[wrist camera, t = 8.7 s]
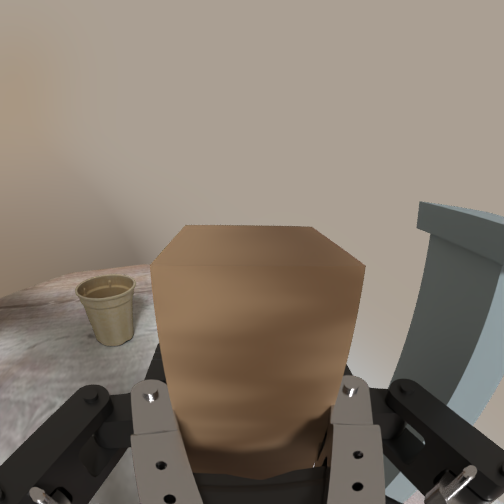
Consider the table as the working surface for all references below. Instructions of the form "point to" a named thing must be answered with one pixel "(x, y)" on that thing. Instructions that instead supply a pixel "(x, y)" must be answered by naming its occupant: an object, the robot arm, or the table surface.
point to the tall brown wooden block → (254, 342)
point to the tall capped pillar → (455, 319)
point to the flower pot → (109, 307)
